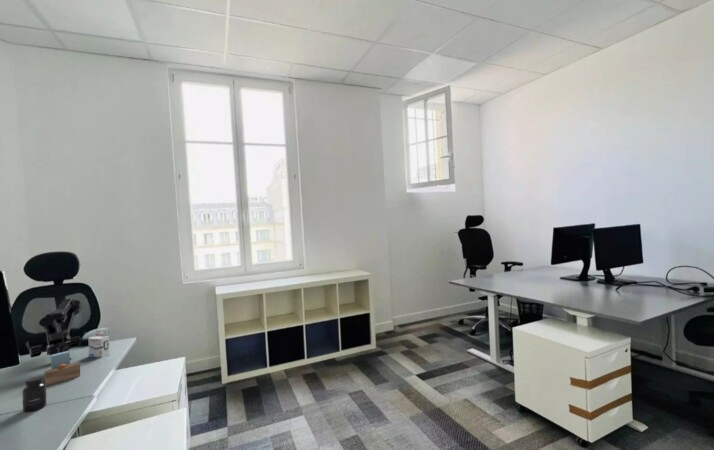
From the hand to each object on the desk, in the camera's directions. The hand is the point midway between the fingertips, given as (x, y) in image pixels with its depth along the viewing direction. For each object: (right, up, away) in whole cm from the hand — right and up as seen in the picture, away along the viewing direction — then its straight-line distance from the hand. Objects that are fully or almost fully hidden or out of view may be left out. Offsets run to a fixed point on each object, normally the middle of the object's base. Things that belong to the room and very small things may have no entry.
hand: (58, 361), depth 160 cm
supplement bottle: (+18, -7, -30) cm, 35 cm away
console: (+6, -7, -5) cm, 10 cm away
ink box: (+4, -7, +20) cm, 22 cm away
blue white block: (+5, -5, -5) cm, 9 cm away
